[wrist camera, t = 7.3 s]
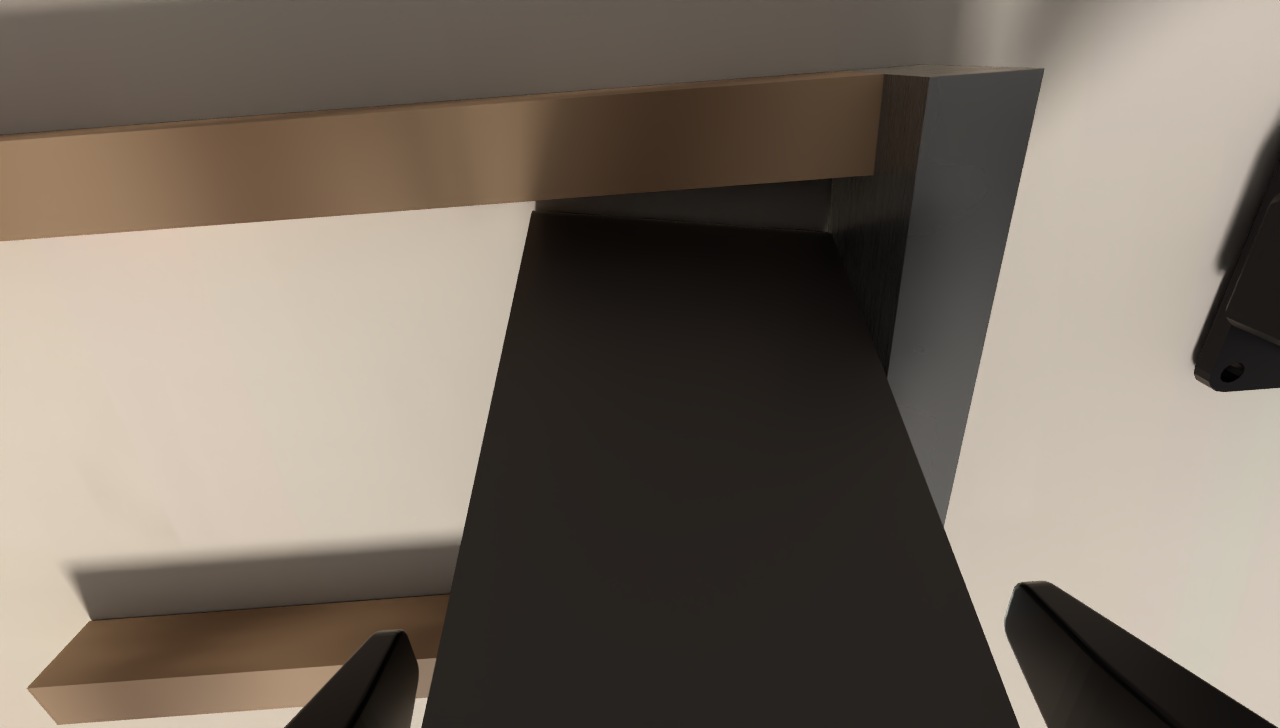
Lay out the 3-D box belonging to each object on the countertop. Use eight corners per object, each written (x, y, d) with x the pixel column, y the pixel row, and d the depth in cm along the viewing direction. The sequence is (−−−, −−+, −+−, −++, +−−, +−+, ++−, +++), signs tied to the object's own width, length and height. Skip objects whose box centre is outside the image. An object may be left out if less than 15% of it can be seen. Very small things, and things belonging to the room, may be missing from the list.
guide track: (895, 66, 11) (949, 69, 9) (833, 603, 17) (857, 665, 16) (-247, 153, 11) (-413, 172, 9) (114, 656, 17) (58, 724, 16)
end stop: (922, 64, 11) (1044, 68, 8) (850, 601, 17) (901, 720, 14) (841, 70, 11) (929, 77, 8) (798, 605, 17) (838, 725, 14)
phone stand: (751, 552, 16) (1001, 1474, 6) (531, 542, 16) (360, 1517, 5) (828, 228, 12) (2185, 1350, 2) (534, 204, 12) (-191, 1507, 1)
